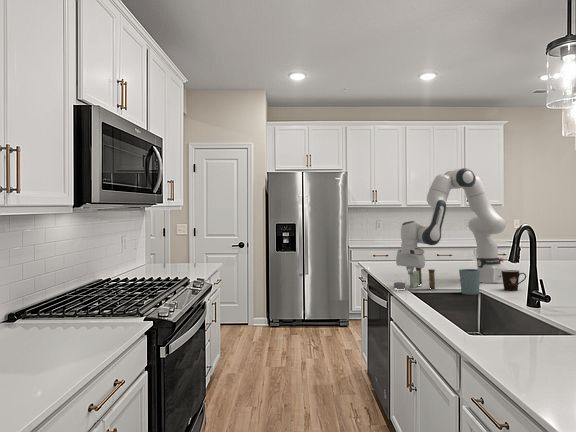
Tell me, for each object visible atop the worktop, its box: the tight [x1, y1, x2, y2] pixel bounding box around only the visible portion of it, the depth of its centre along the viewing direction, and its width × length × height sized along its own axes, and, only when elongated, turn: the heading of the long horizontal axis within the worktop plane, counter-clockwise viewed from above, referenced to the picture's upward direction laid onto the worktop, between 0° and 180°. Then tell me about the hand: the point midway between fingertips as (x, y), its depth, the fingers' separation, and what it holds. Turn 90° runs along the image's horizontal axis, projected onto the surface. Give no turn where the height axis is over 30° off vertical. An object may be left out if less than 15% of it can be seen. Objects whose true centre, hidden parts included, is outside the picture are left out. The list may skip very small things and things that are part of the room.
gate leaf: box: [409, 270, 419, 288], centre depth 270 cm, size 2×10×8 cm, turn 146°
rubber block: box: [393, 281, 406, 289], centre depth 264 cm, size 4×4×4 cm
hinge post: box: [415, 268, 423, 285], centre depth 276 cm, size 3×3×11 cm
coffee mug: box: [501, 269, 527, 292], centre depth 251 cm, size 12×9×10 cm
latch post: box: [428, 268, 436, 290], centre depth 263 cm, size 4×5×11 cm
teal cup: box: [458, 268, 481, 296], centre depth 246 cm, size 10×10×12 cm
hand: (410, 274), depth 270 cm, fingers closed
